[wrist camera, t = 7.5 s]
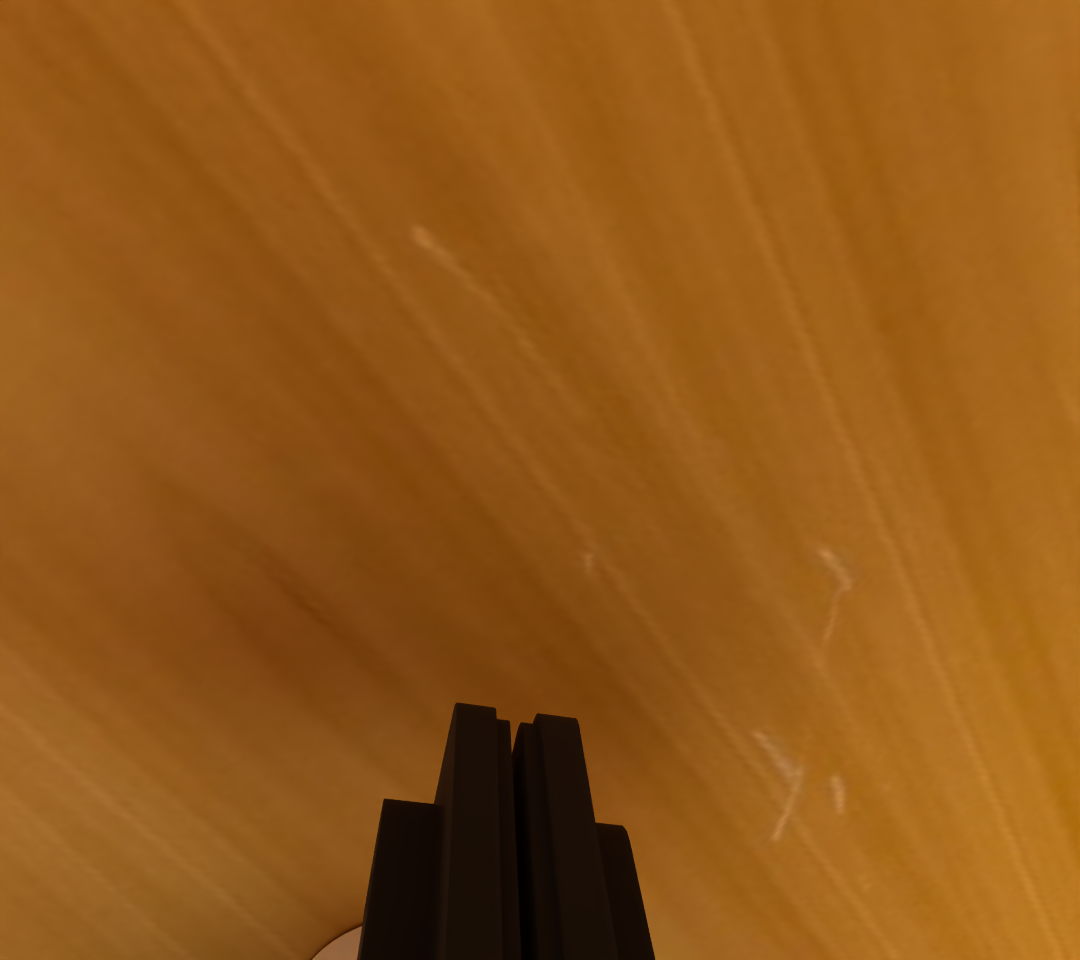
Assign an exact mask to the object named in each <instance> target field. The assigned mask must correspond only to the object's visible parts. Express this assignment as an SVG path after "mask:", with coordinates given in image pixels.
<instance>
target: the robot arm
mask: <svg viewBox="0 0 1080 960" xmlns="http://www.w3.org/2000/svg"><path fill="white" fill-rule="evenodd" d="M357 960H655V956H654V952H653V947H652V942H651V938H650V933H649V928H648V924H647V919H646V914H645V910H644V905H643V900H642V896H641V891H640V886H639V882H638V877H637V872H636V868H635V863H634V858H633V854H632V849H631V844H630V840H629V837H628V834H627V831H626V829H625V828H624V827H623V826H621V825H612V824H604V823H595V817H594V811H593V805H592V799H591V793H590V787H589V781H588V776H587V770H586V764H585V758H584V752H583V746H582V740H581V734H580V728H579V723H578V720H577V719H576V718H570V717H562V716H554V715H547V714H539V713H538V714H536V716H535V718H534V721H533V724H531V723H524V722H521V723H520V725H519V727H518V731H517V735H516V739H515V743H514V747H513V751H512V750H511V730H510V722H509V721H508V720H501V719H497V715H496V709H495V708H494V707H486V706H479V705H471V704H463V703H456V704H455V707H454V710H453V715H452V720H451V724H450V729H449V734H448V739H447V743H446V748H445V753H444V758H443V763H442V767H441V772H440V777H439V782H438V786H437V791H436V796H435V801H434V804H428V803H419V802H410V801H402V800H393V799H384V801H383V806H382V811H381V817H380V822H379V828H378V833H377V839H376V844H375V850H374V856H373V862H372V868H371V874H370V880H369V886H368V892H367V898H366V904H365V911H364V917H363V923H362V930H361V936H360V943H359V949H358V956H357Z"/></svg>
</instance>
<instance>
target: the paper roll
mask: <svg viewBox="0 0 1080 960" xmlns="http://www.w3.org/2000/svg"><path fill="white" fill-rule="evenodd" d="M361 930H362V926H361V927H358V928H356V929H354V930H352V931H350V932H348V933H345V934H344V935H342V936H340V937H339V938H337V939H336V940H334V941H332V942H331V943H330V944H328V945H327V946H326V947H325V948H324V949H322V950H321V951H320V952H319V953H318V954H317V955H316V956H315V957H314V958H313V959H312V960H357V956H358V949H359V943H360V936H361Z"/></svg>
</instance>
